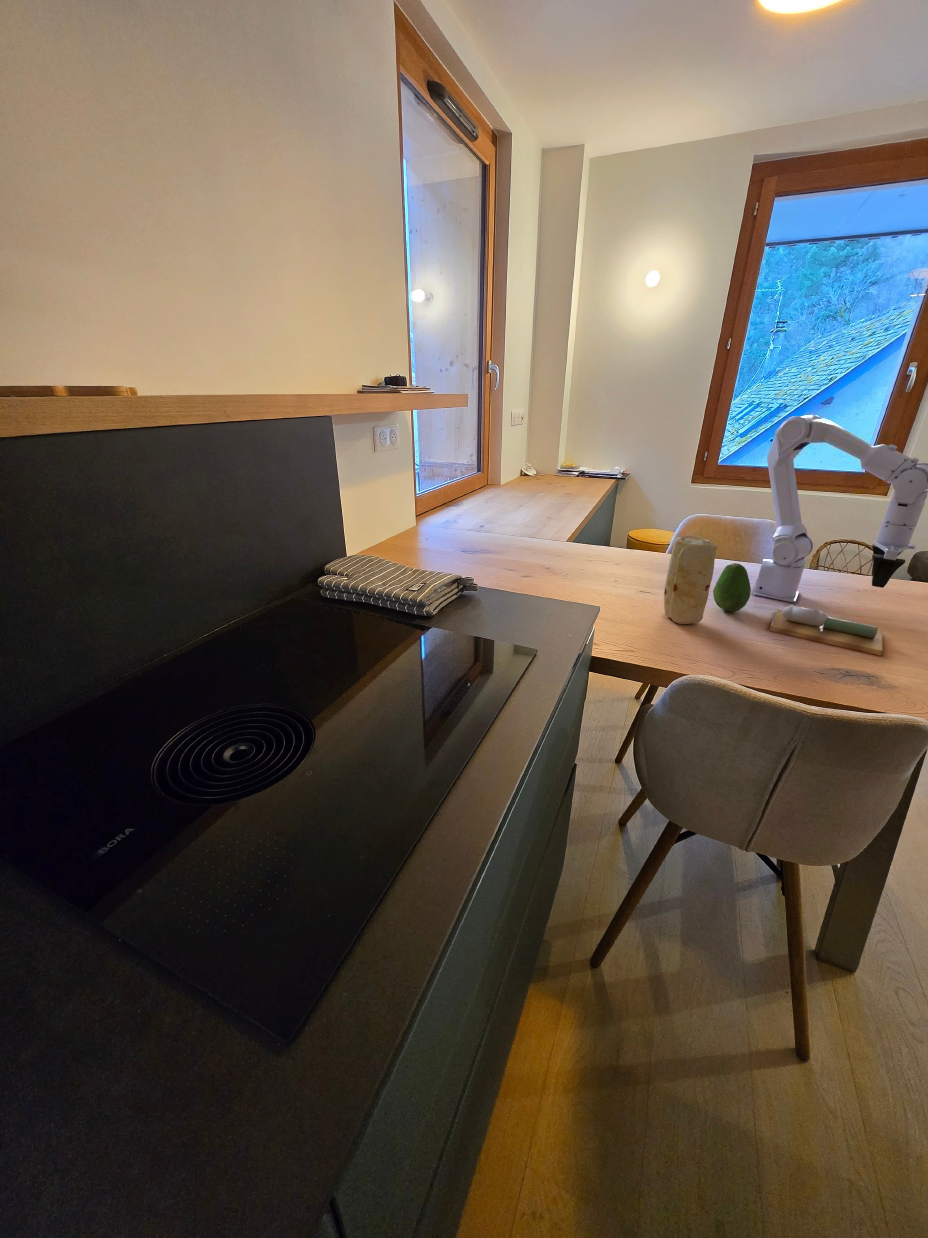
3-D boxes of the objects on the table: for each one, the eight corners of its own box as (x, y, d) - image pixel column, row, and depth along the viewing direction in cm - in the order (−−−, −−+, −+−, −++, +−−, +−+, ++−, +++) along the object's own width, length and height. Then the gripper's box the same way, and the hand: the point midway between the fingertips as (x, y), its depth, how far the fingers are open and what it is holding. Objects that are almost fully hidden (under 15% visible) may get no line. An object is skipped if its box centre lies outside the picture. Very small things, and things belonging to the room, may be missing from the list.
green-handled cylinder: (873, 635, 106) (879, 620, 105) (873, 641, 104) (879, 626, 102) (781, 615, 116) (785, 601, 114) (779, 621, 113) (783, 606, 111)
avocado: (717, 601, 127) (727, 556, 121) (749, 609, 122) (761, 563, 116) (704, 610, 122) (714, 564, 116) (738, 620, 117) (750, 572, 111)
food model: (706, 620, 117) (724, 538, 108) (696, 630, 112) (714, 545, 103) (665, 609, 122) (679, 531, 114) (654, 618, 118) (668, 537, 109)
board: (769, 630, 111) (770, 625, 111) (776, 613, 119) (777, 609, 119) (880, 655, 101) (882, 650, 100) (880, 635, 108) (881, 630, 108)
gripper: (926, 533, 99) (901, 595, 105) (921, 518, 109) (898, 575, 115) (881, 528, 103) (860, 588, 109) (881, 514, 113) (861, 569, 119)
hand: (877, 581), depth 112 cm, fingers open, 7 cm apart
